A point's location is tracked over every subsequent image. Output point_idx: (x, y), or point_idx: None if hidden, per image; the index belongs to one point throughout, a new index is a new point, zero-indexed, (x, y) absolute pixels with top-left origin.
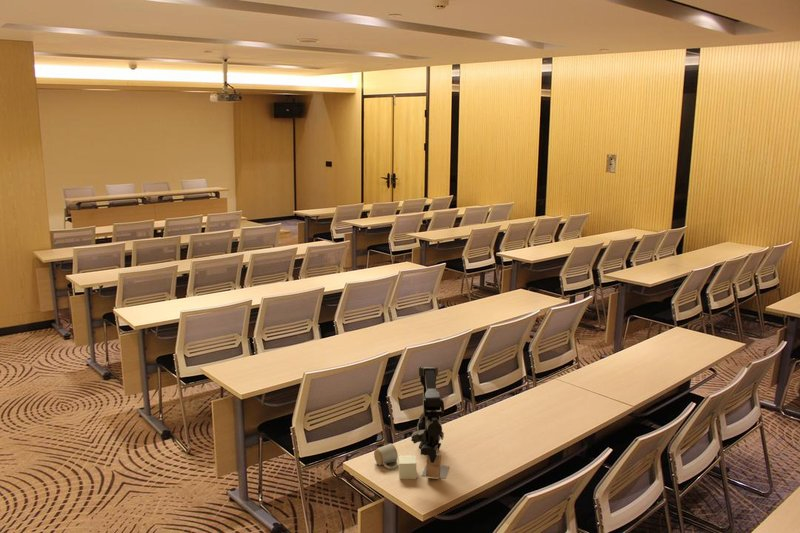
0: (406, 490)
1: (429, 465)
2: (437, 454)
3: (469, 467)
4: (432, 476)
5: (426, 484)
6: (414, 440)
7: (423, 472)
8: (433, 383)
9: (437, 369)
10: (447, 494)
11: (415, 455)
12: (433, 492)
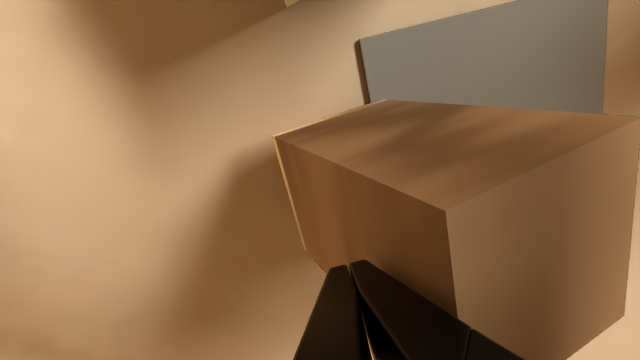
0: (14, 12)
1: (338, 202)
2: (607, 281)
3: (611, 325)
4: (297, 205)
5: (236, 149)
6: None
7: (427, 28)
8: None
9: None
10: (187, 345)
11: None
12: (151, 253)
